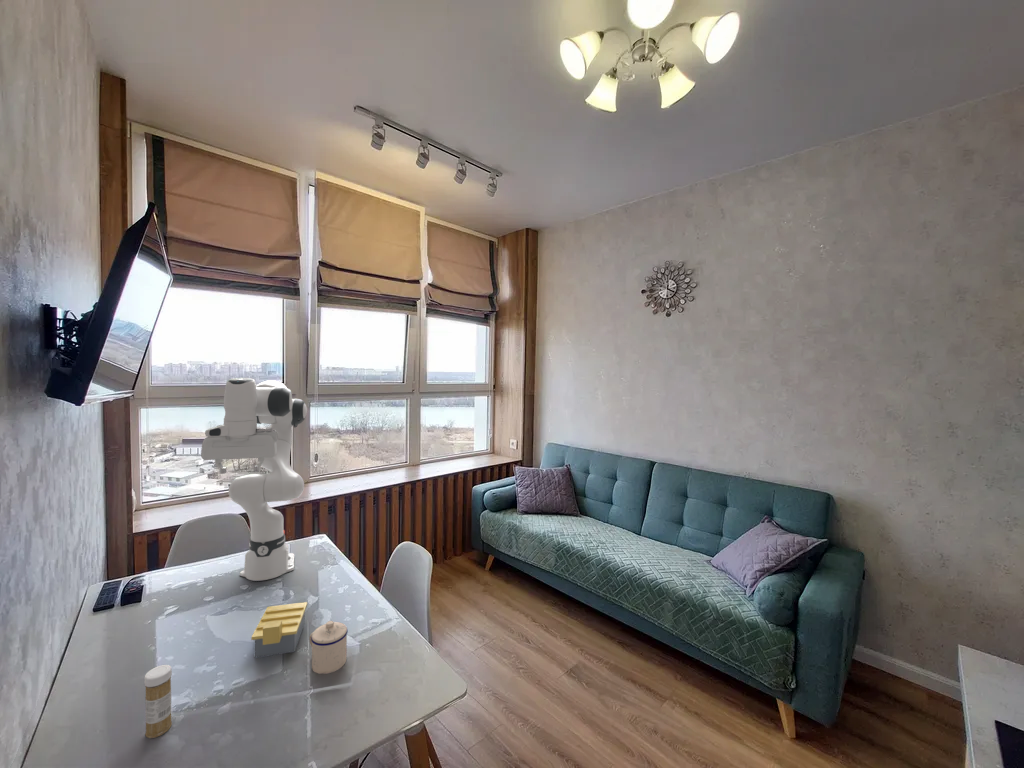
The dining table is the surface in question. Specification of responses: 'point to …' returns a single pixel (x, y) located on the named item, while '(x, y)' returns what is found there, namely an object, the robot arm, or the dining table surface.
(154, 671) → the sprinkles bottle
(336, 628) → the teacup with lid
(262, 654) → the tub
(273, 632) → the yellow flat ridged piece
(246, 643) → the dining table surface
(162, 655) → the dining table surface
